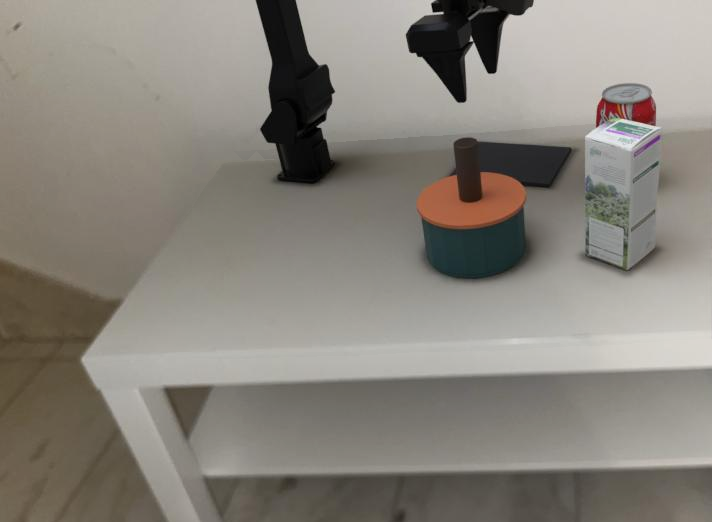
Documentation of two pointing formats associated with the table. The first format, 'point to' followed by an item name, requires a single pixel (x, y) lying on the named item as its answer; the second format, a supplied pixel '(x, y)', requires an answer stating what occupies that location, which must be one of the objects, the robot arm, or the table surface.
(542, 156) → the mat
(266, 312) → the table surface
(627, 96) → the soda can
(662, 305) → the table surface
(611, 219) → the syrup box
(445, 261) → the round pot
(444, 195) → the lid
